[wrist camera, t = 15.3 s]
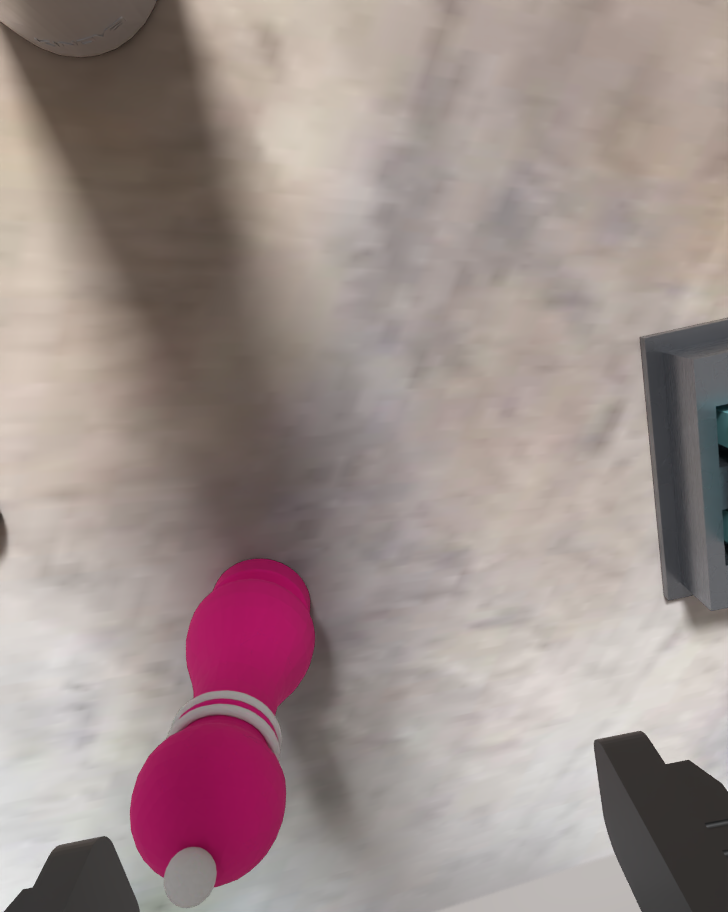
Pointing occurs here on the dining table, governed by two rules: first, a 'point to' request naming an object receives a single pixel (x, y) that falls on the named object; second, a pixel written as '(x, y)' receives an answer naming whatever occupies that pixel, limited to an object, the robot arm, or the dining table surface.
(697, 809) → the robot arm
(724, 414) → the clip
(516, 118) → the dining table surface
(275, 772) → the pepper mill
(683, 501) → the grey hollow block
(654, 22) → the dining table surface
